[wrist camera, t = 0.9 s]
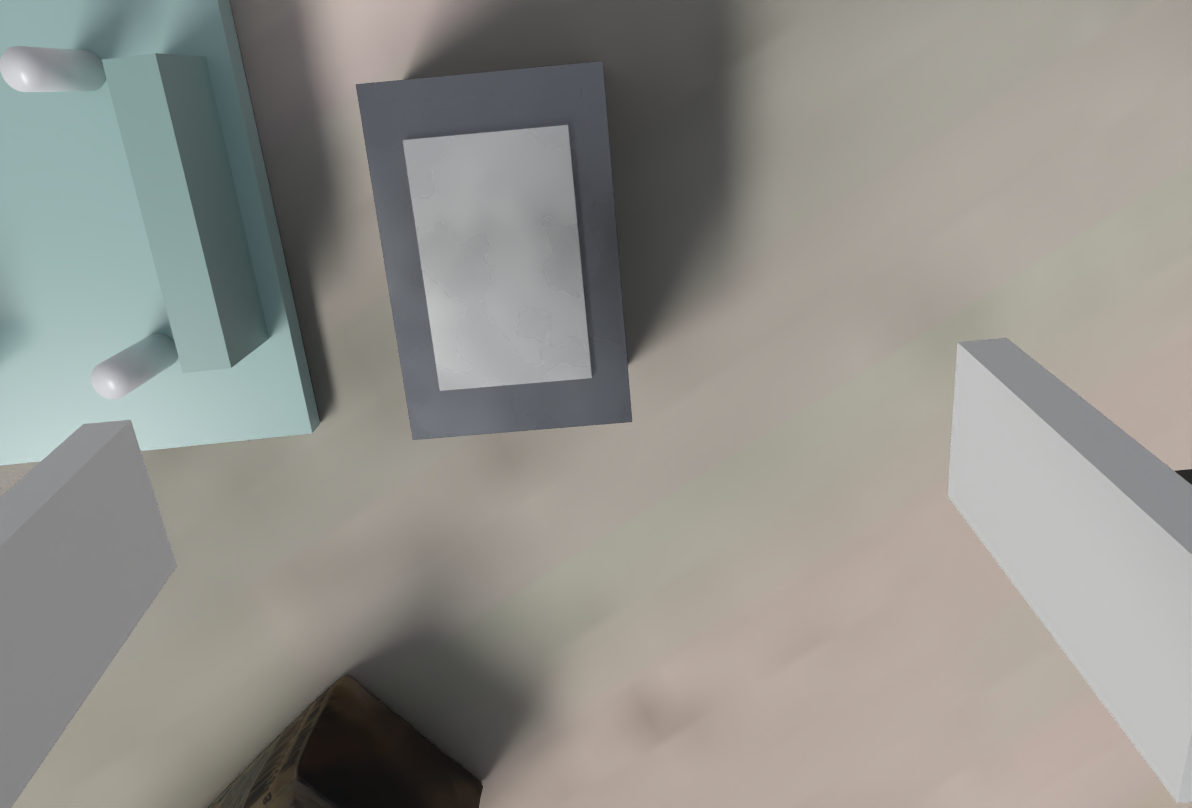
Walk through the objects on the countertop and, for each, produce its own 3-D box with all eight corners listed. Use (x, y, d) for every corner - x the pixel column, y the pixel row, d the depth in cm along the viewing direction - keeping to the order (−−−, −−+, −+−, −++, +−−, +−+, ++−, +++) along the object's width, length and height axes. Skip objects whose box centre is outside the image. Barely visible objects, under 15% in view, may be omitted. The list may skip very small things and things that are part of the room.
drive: (626, 364, 34) (632, 424, 28) (444, 380, 34) (411, 442, 28) (602, 65, 31) (602, 61, 25) (401, 84, 31) (353, 84, 25)
